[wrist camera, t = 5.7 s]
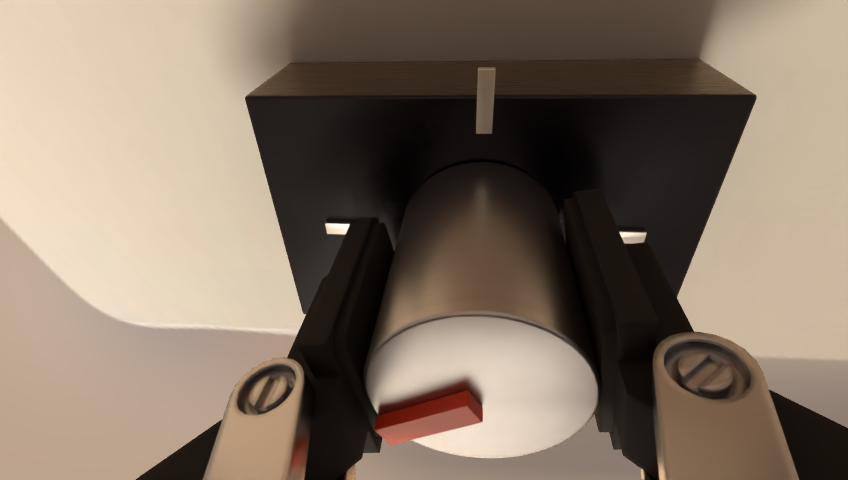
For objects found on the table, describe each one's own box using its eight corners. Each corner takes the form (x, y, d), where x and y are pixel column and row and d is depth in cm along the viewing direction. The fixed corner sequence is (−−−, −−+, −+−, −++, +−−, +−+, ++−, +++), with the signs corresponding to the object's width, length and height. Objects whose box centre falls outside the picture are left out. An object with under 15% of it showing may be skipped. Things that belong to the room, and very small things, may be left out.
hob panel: (708, 32, 11) (776, 66, 9) (631, 282, 16) (659, 351, 13) (284, 39, 12) (232, 71, 10) (331, 269, 17) (304, 331, 14)
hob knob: (516, 131, 10) (543, 291, 6) (582, 256, 12) (641, 451, 7) (373, 204, 11) (308, 374, 7) (451, 305, 13) (436, 490, 9)
